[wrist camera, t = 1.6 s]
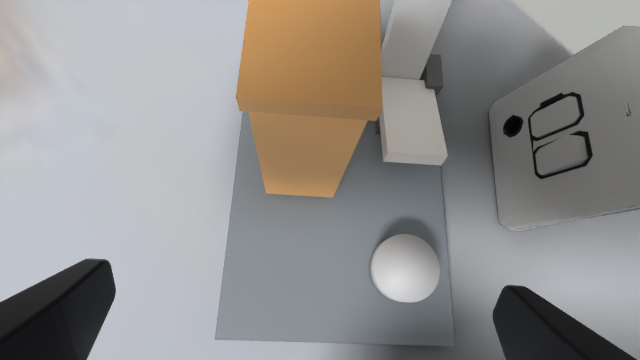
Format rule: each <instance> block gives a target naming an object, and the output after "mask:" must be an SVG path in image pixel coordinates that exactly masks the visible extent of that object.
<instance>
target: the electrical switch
mask: <svg viewBox="0 0 640 360" xmlns="http://www.w3.org/2000/svg"><path fill="white" fill-rule="evenodd" d="M489 122H490V132H491V143H492V154H493V165H494V175H495V186H496V197H497V208H498V218H499V223H500V224H501V225H502V226H504V227H505V228H506V229H510V230H514V231H525V230H529V229H534V228H537V227H543V226H548V225H553V224H558V223H564V222H569V221H574V220H579V219H585V218H591V217H596V216H602V215H608V214H614V213H620V212H626V211H632V210H638V209H640V27H638V26H623V27H621V28H619V29H617V30H615V31H614V32H612V33H610V34H608V35H607V36H605V37H603V38H602V39H600V40H598V41H597V42H595V43H593V44H592V45H590V46H588V47H587V48H585V49H583V50H581V51H580V52H578V53H576V54H575V55H573V56H571V57H569V58H568V59H566V60H564V61H563V62H561V63H559V64H558V65H556V66H554V67H552V68H551V69H549V70H547V71H546V72H544V73H542V74H541V75H539V76H537V77H535V78H534V79H532V80H530V81H529V82H527V83H525V84H524V85H522V86H520V87H519V88H517V89H515V90H513V91H512V92H510V93H508V94H507V95H505V96H503V97H502V98H500V99H498V100H496V101H495V102H494V103H493V105H492V106H491V108H490V110H489Z"/></svg>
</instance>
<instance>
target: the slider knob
mask: <svg viewBox="0 0 640 360" xmlns="http://www.w3.org/2000/svg"><path fill="white" fill-rule="evenodd" d="M236 99H237V103H238V106H239V110H240V111H248V114H249V118H250V123H251V127H252V132H253V136H254V141H255V145H256V150H257V154H258V159H259V163H260V168H261V173H262V177H263V182H264V186H265V191H266V194H281V195H298V196H315V197H332V198H333V196H334V194H335V192H336V190H337V188H338V185H339V183H340V181H341V179H342V176H343V174H344V172H345V170H346V168H347V165H348V163H349V161H350V159H351V156H352V154H353V152H354V150H355V148H356V145H357V143H358V141H359V139H360V136H361V134H362V132H363V130H364V128H365V125H366V123H367V121H368V120H370V121H376V120H377V118H378V116H379V114H380V112H381V110H382V108H383V106H382V67H381V28H380V0H249V3H248V10H247V18H246V25H245V33H244V41H243V48H242V56H241V63H240V71H239V78H238V86H237V93H236Z"/></svg>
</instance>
